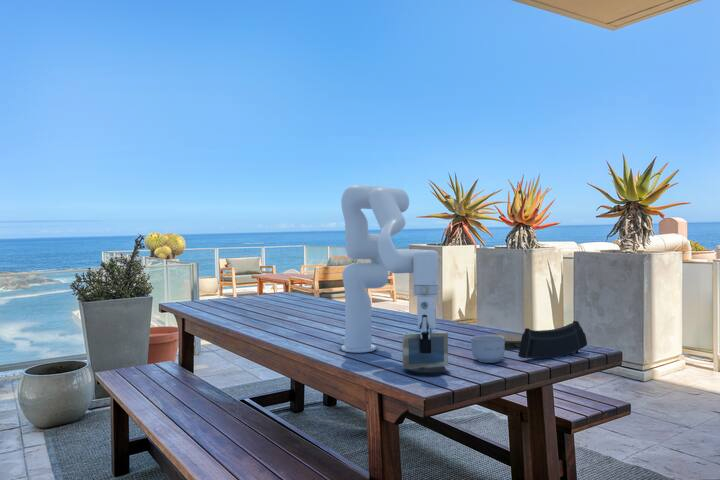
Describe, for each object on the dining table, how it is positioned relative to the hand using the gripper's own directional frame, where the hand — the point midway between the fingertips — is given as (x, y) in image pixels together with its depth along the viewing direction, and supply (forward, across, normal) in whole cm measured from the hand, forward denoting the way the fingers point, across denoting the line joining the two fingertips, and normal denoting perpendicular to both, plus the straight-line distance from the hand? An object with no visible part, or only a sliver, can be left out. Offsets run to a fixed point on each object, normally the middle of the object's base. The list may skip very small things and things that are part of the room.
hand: (426, 351), depth 151 cm
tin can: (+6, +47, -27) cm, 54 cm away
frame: (+5, +1, +1) cm, 5 cm away
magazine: (+6, +29, -41) cm, 51 cm away
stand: (+6, 0, 0) cm, 6 cm away
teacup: (+6, +18, -20) cm, 28 cm away
